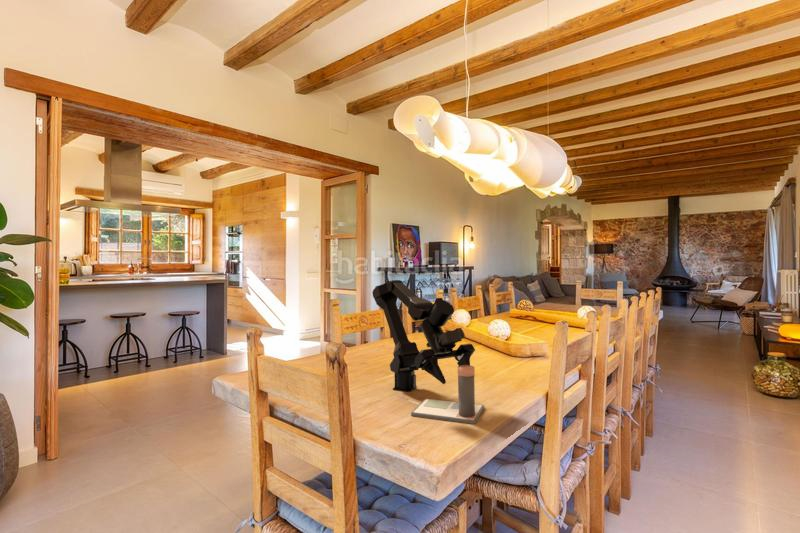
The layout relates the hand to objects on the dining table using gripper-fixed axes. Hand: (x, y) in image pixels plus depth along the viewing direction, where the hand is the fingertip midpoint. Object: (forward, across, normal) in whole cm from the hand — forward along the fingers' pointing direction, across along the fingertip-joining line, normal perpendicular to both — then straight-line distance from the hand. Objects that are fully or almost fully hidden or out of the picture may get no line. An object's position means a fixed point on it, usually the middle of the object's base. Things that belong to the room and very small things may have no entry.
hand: (458, 380), depth 117 cm
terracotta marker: (+8, 0, +3) cm, 9 cm away
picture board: (+5, -1, +9) cm, 10 cm away
